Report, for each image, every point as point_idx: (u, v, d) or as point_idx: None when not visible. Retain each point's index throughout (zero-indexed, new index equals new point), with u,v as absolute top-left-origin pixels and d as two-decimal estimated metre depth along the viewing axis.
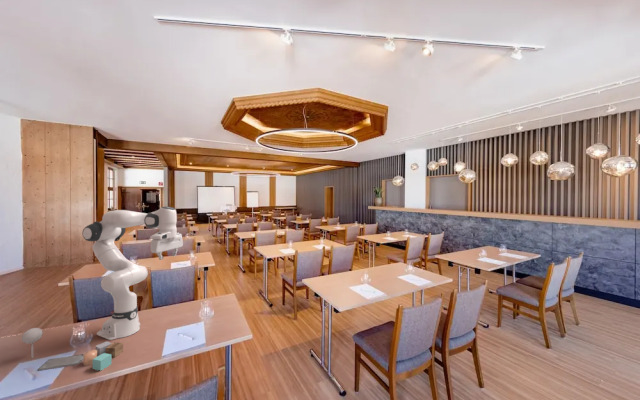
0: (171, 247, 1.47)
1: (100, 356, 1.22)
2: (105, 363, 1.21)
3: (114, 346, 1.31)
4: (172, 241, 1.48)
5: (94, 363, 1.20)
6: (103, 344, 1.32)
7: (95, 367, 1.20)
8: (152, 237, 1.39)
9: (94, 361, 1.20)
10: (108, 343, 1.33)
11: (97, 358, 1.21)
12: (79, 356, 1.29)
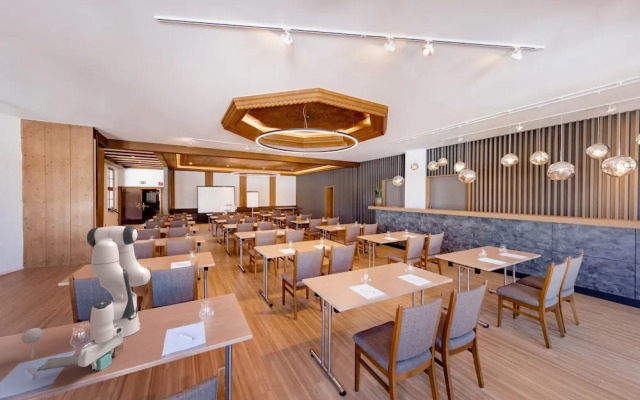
0: None
1: None
2: (105, 363, 1.21)
3: None
4: None
5: None
6: None
7: None
8: None
9: None
10: None
11: None
12: None
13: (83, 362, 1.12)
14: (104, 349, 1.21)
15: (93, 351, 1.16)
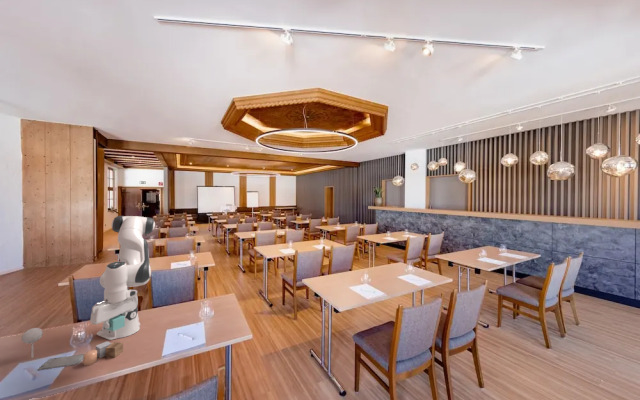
0: None
1: (114, 317, 1.22)
2: (118, 324, 1.20)
3: (114, 346, 1.31)
4: None
5: None
6: (103, 344, 1.33)
7: None
8: None
9: None
10: (108, 343, 1.33)
11: (111, 318, 1.20)
12: (79, 356, 1.29)
13: (95, 320, 1.11)
14: (117, 310, 1.20)
15: (105, 310, 1.15)
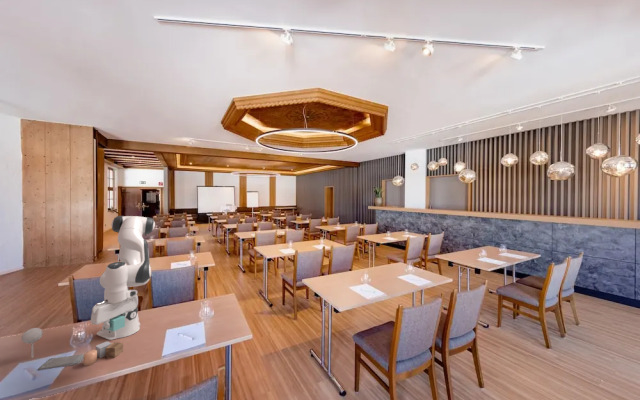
0: None
1: (114, 317, 1.22)
2: (119, 324, 1.20)
3: (114, 346, 1.31)
4: None
5: None
6: (103, 344, 1.33)
7: None
8: None
9: None
10: (108, 343, 1.33)
11: None
12: (79, 356, 1.29)
13: (95, 320, 1.11)
14: (117, 310, 1.20)
15: (106, 310, 1.15)
